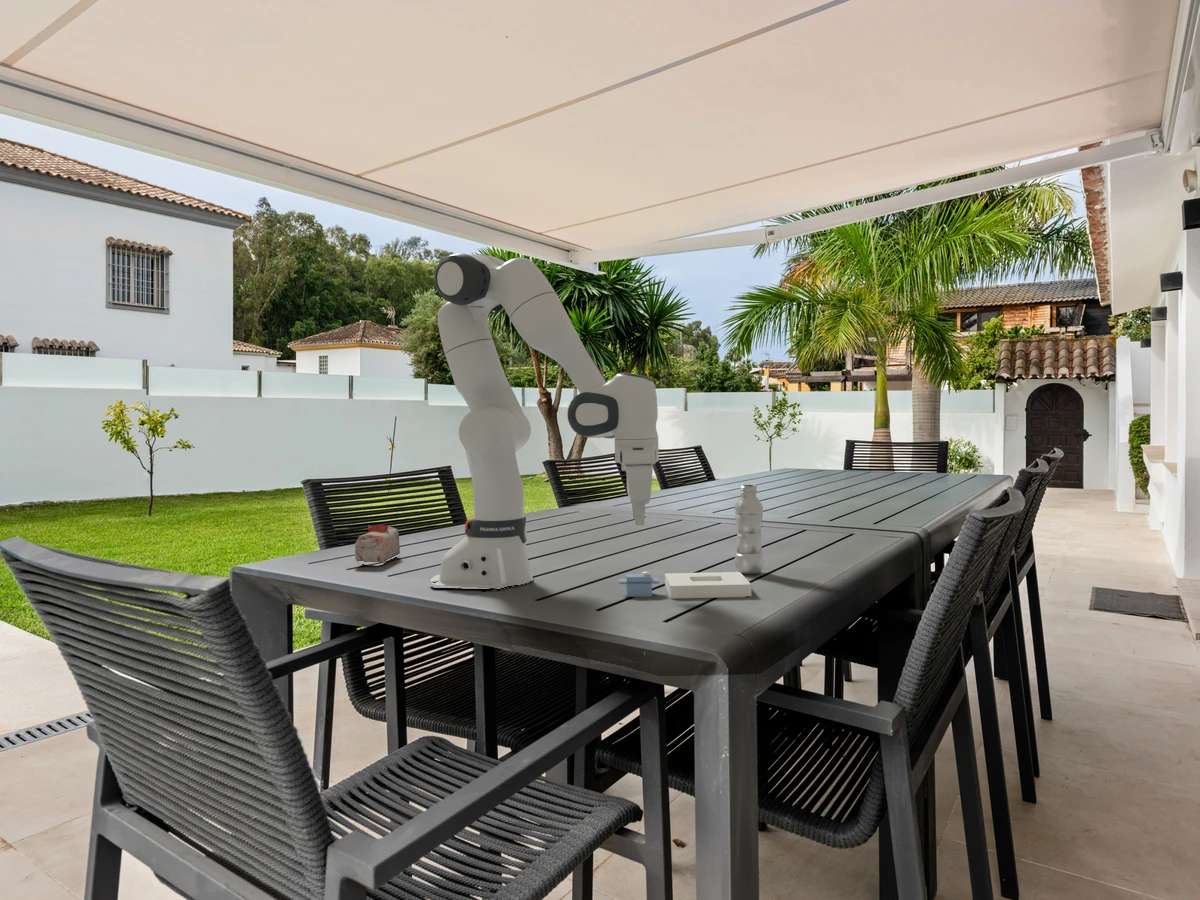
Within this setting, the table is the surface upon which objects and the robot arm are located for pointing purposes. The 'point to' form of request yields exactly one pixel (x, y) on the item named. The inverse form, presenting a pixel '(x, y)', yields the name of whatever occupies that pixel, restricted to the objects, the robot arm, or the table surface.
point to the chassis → (707, 585)
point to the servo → (639, 584)
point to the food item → (377, 544)
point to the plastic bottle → (749, 531)
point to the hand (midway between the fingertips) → (638, 521)
